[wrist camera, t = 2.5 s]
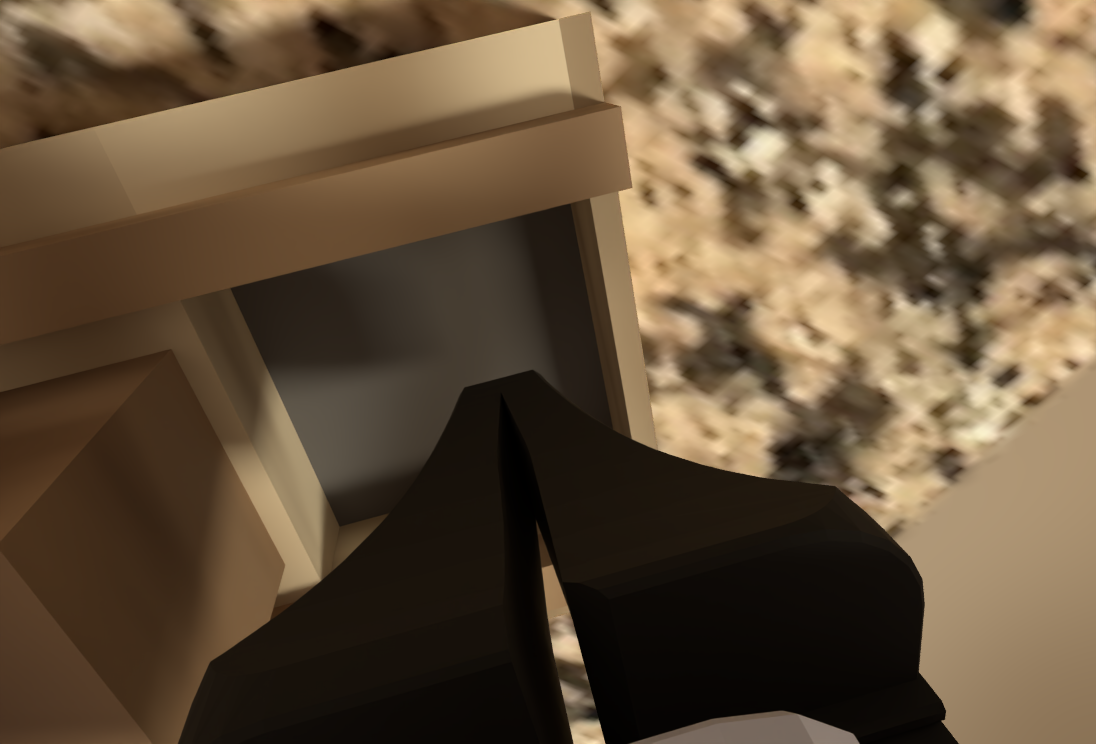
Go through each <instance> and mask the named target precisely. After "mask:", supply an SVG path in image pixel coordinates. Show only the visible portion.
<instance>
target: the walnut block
mask: <svg viewBox="0 0 1096 744" xmlns="http://www.w3.org/2000/svg"><path fill="white" fill-rule="evenodd" d="M284 568H285V563H284V561H283V559H282V558H281V556H280V554H279V552H278V550H277V548H276V546H275V544H274V542H273V541H272V539H271V537H270V535H269V533H268V531H267V529H266V527H265V525H264V524H263V522H262V520H261V518H260V516H259V514H258V512H257V510H256V508H255V506H254V505H253V503H252V501H251V499H250V497H249V495H248V493H247V491H246V489H245V488H244V486H243V484H242V482H241V480H240V478H239V476H238V474H237V472H236V471H235V469H234V467H233V465H232V463H231V461H230V459H229V457H228V455H227V453H226V452H225V450H224V448H223V446H222V444H221V442H220V440H219V438H218V436H217V435H216V433H215V431H214V429H213V427H212V425H211V423H210V421H209V419H208V418H207V416H206V414H205V412H204V410H203V408H202V406H201V404H200V402H199V400H198V399H197V397H196V395H195V393H194V391H193V389H192V387H191V385H190V383H189V382H188V380H187V378H186V376H185V374H184V372H183V370H182V368H181V366H180V365H179V363H178V361H177V359H176V357H175V355H174V353H173V351H172V349H169V350H165V351H161V352H157V353H153V354H149V355H145V356H141V357H137V358H133V359H130V360H126V361H122V362H118V363H114V364H110V365H106V366H102V367H98V368H94V369H90V370H86V371H82V372H78V373H74V374H70V375H66V376H62V377H58V378H54V379H50V380H46V381H42V382H38V383H35V384H31V385H27V386H23V387H19V388H15V389H11V390H7V391H3V392H0V744H178V742H179V739H180V736H181V733H182V730H183V727H184V724H185V722H186V719H187V716H188V713H189V710H190V707H191V704H192V702H193V700H194V697H195V695H196V693H197V690H198V688H199V686H200V683H201V681H202V679H203V676H204V674H205V672H206V670H207V667H208V665H209V663H210V661H212V660H213V659H215V658H217V657H218V656H220V655H221V654H223V653H224V652H226V651H227V650H229V649H230V648H232V647H233V646H234V645H236V644H237V643H239V642H240V641H242V640H243V639H244V638H246V637H247V636H249V635H250V634H252V633H253V632H254V631H256V630H257V629H259V628H260V627H262V626H263V625H264V624H266V623H267V622H269V621H270V618H271V614H272V611H273V607H274V604H275V600H276V597H277V593H278V590H279V586H280V583H281V579H282V575H283V572H284Z"/></svg>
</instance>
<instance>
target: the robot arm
mask: <svg viewBox="0 0 1096 744" xmlns="http://www.w3.org/2000/svg"><path fill="white" fill-rule="evenodd" d="M536 521H537V524H538V527H539V529H540V532H541V535H542V538H543V540H544V543H545V546H546V549H547V551H548V554H549V557H550V559H551V562H552V565H553V568H554V570H555V573H556V576H557V578H558V581H559V584H560V587H561V589H562V592H563V595H564V597H565V600H566V603H567V606H568V608H569V611H570V614H571V617H572V619H573V623H574V627H575V631H576V634H577V638H578V642H579V646H580V649H581V653H582V657H583V661H584V664H585V668H586V672H587V676H588V680H589V683H590V687H591V691H592V695H593V698H594V702H595V706H596V710H597V713H598V717H599V721H600V725H601V728H602V732H603V736H604V740H605V744H958V742H957V741H956V740H955V738H954V737H953V736H952V734H951V733H950V732H949V731H948V729H947V728H946V727H945V725H944V724H943V723H942V722H941V721H942V720H945V714H946V710H945V708H944V705H943V703H942V700H941V699H940V698H939V697H938V696H937V694H936V693H935V692H934V690H933V689H932V688H931V687H930V685H929V684H928V683H927V682H926V680H925V679H924V678H923V677H922V676H921V674H920V673H919V662H920V650H921V640H922V628H923V617H924V606H925V602H924V592H923V581H922V577H921V576H920V574H919V572H918V570H917V568H916V566H915V564H914V563H913V561H912V559H911V557H910V556H909V555H908V554H907V553H906V552H905V551H904V550H903V549H902V548H901V547H900V546H899V545H898V544H897V543H896V542H895V541H894V540H893V539H892V537H891V536H890V535H889V534H888V533H887V532H886V531H885V530H884V529H883V528H882V527H881V526H880V525H879V524H878V523H877V522H876V521H875V520H874V519H872V518H871V517H870V516H869V515H868V514H867V513H866V512H865V511H864V510H863V509H861V508H860V507H859V506H858V505H857V504H855V503H854V502H853V501H852V500H851V499H849V498H848V497H847V496H846V495H845V494H843V493H842V492H841V491H840V490H839V489H838V488H837V487H835V486H829V485H820V484H811V483H802V482H793V481H784V480H775V479H767V478H761V477H755V476H750V475H745V474H740V473H735V472H730V471H725V470H721V469H717V468H713V467H709V466H705V465H701V464H698V463H695V462H691V461H688V460H685V459H682V458H679V457H676V456H672V455H669V454H667V453H664V452H661V451H658V450H656V449H653V448H651V447H648V446H646V445H644V444H642V443H639V442H637V441H635V440H633V439H630V438H628V437H626V436H624V435H622V434H620V433H618V432H616V431H615V430H613V429H611V428H610V427H608V426H606V425H605V424H603V423H601V422H600V421H598V420H597V419H595V418H594V417H592V416H591V415H589V414H588V413H586V412H585V411H583V410H582V409H581V408H579V407H578V406H577V405H575V404H574V403H572V402H571V401H570V400H568V399H567V398H566V397H565V396H563V395H562V394H561V393H560V392H559V391H558V390H556V389H555V388H554V387H553V386H552V385H551V384H550V383H549V382H547V381H546V380H545V378H544V377H543V376H542V375H541V374H540V373H538V372H536V371H535V370H529V371H525V372H521V373H517V374H514V375H510V376H506V377H502V378H498V379H495V380H491V381H487V382H483V383H479V384H476V385H472V386H468V387H464V389H463V391H462V392H461V394H460V396H459V398H458V400H457V403H456V405H455V408H454V410H453V412H452V414H451V416H450V419H449V421H448V423H447V425H446V427H445V429H444V431H443V433H442V435H441V436H440V438H439V440H438V442H437V444H436V446H435V448H434V450H433V452H432V453H431V455H430V457H429V458H428V460H427V461H426V463H425V465H424V466H423V468H422V469H421V471H420V473H419V474H418V476H417V477H416V479H415V481H414V482H413V484H412V485H411V487H410V488H409V489H408V491H407V492H406V493H405V495H404V496H403V497H402V498H401V500H400V501H399V502H398V503H397V505H396V506H395V507H394V508H393V509H392V511H391V512H390V513H389V514H388V516H387V517H386V518H385V519H384V520H383V521H382V522H381V524H380V525H379V526H378V527H377V528H376V529H375V530H374V531H373V532H372V533H371V534H370V535H369V536H368V537H367V538H366V539H365V540H364V541H363V542H362V543H361V544H360V545H359V546H358V547H357V548H356V549H355V550H354V551H353V552H352V553H351V554H350V555H349V556H348V557H347V558H346V559H345V560H344V561H343V562H342V563H341V564H340V565H338V566H337V567H336V568H335V569H334V570H333V571H332V572H330V573H329V574H328V575H327V576H326V577H325V578H324V579H323V580H321V581H320V582H319V583H318V584H317V585H315V586H314V587H313V588H312V589H310V590H309V591H308V592H307V593H306V594H304V595H303V596H302V597H301V598H299V599H298V600H297V601H296V602H294V603H293V604H292V605H290V606H289V607H288V608H287V609H285V610H284V611H283V612H281V613H280V614H279V615H277V616H276V617H274V618H273V619H272V620H270V621H269V622H267V623H266V624H264V625H263V626H262V627H260V628H259V629H257V630H256V631H254V632H253V633H252V634H250V635H249V636H247V637H246V638H244V639H243V640H242V641H240V642H239V643H237V644H236V645H234V646H233V647H232V648H230V649H229V650H227V651H226V652H224V653H223V654H221V655H220V656H218V657H217V658H215V659H213V660H212V661H210V663H209V665H208V667H207V670H206V672H205V674H204V676H203V679H202V681H201V683H200V686H199V688H198V690H197V693H196V695H195V697H194V700H193V702H192V704H191V707H190V710H189V713H188V716H187V719H186V722H185V724H184V727H183V730H182V733H181V736H180V739H179V742H178V744H573V739H572V735H571V730H570V726H569V722H568V717H567V713H566V708H565V704H564V699H563V695H562V690H561V686H560V681H559V677H558V672H557V668H556V663H555V659H554V654H553V649H552V643H551V637H550V631H549V623H548V615H547V607H546V598H545V590H544V581H543V573H542V565H541V556H540V548H539V540H538V532H537V524H536Z"/></svg>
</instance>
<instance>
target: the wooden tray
mask: <svg viewBox="0 0 1096 744" xmlns="http://www.w3.org/2000/svg"><path fill="white" fill-rule="evenodd" d="M630 188H632V181H631V174H630V168H629V161H628V154H627V147H626V140H625V133H624V126H623V119H622V112H621V106H617V105H613V104H609V103H605V102H604V97H603V90H602V84H601V77H600V71H599V64H598V58H597V51H596V45H595V38H594V32H593V25H592V19H591V12H587V13H583V14H578V15H574V16H570V17H565V18H561V19H557V20H552V21H548V22H544V23H540V24H535V25H531V26H527V27H522V28H518V29H514V30H509V31H505V32H501V33H496V34H492V35H488V36H484V37H479V38H475V39H471V40H466V41H462V42H458V43H453V44H449V45H445V46H441V47H436V48H432V49H428V50H423V51H419V52H415V53H410V54H406V55H402V56H397V57H393V58H389V59H385V60H380V61H376V62H372V63H367V64H363V65H359V66H354V67H350V68H346V69H341V70H337V71H333V72H329V73H324V74H320V75H316V76H311V77H307V78H303V79H298V80H294V81H290V82H286V83H281V84H277V85H273V86H268V87H264V88H260V89H255V90H251V91H247V92H242V93H238V94H234V95H230V96H225V97H221V98H217V99H212V100H208V101H204V102H199V103H195V104H191V105H186V106H182V107H178V108H174V109H169V110H165V111H161V112H156V113H152V114H148V115H143V116H139V117H135V118H131V119H126V120H122V121H118V122H113V123H109V124H105V125H100V126H96V127H92V128H87V129H83V130H79V131H75V132H70V133H66V134H62V135H57V136H53V137H49V138H44V139H40V140H36V141H31V142H27V143H23V144H19V145H14V146H10V147H6V148H1V149H0V392H3V391H7V390H11V389H15V388H19V387H23V386H27V385H31V384H35V383H38V382H42V381H46V380H50V379H54V378H58V377H62V376H66V375H70V374H74V373H78V372H82V371H86V370H90V369H94V368H98V367H102V366H106V365H110V364H114V363H118V362H122V361H126V360H130V359H133V358H137V357H141V356H145V355H149V354H153V353H157V352H161V351H165V350H169V349H172V351H173V353H174V355H175V357H176V359H177V361H178V363H179V365H180V366H181V368H182V370H183V372H184V374H185V376H186V378H187V380H188V382H189V383H190V385H191V387H192V389H193V391H194V393H195V395H196V397H197V399H198V400H199V402H200V404H201V406H202V408H203V410H204V412H205V414H206V416H207V418H208V419H209V421H210V423H211V425H212V427H213V429H214V431H215V433H216V435H217V436H218V438H219V440H220V442H221V444H222V446H223V448H224V450H225V452H226V453H227V455H228V457H229V459H230V461H231V463H232V465H233V467H234V469H235V471H236V472H237V474H238V476H239V478H240V480H241V482H242V484H243V486H244V488H245V489H246V491H247V493H248V495H249V497H250V499H251V501H252V503H253V505H254V506H255V508H256V510H257V512H258V514H259V516H260V518H261V520H262V522H263V524H264V525H265V527H266V529H267V531H268V533H269V535H270V537H271V539H272V541H273V542H274V544H275V546H276V548H277V550H278V552H279V554H280V556H281V558H282V559H283V561H284V563H285V568H284V572H283V575H282V579H281V583H280V586H279V590H278V593H277V597H276V600H275V604H274V607H273V611H272V614H271V618H270V620H272V619H273V618H274V617H276V616H277V615H279V614H280V613H281V612H283V611H284V610H285V609H287V608H288V607H289V606H290V605H292V604H293V603H294V602H296V601H297V600H298V599H299V598H301V597H302V596H303V595H304V594H306V593H307V592H308V591H309V590H310V589H312V588H313V587H314V586H315V585H317V584H318V583H319V582H320V581H321V580H323V579H324V578H325V577H326V576H327V575H328V574H329V573H330V572H332V571H333V570H334V569H335V568H336V567H337V566H338V565H340V564H341V563H342V562H343V561H344V560H345V559H346V558H347V557H348V556H349V555H350V554H351V553H352V552H353V551H354V550H355V549H356V548H357V547H358V546H359V545H360V544H361V543H362V542H363V541H364V540H365V539H366V538H367V537H368V536H369V535H370V534H371V533H372V532H373V531H374V530H375V529H376V528H377V527H378V526H379V525H380V524H381V522H382V521H383V520H384V519H385V518H386V517H387V516H388V514H389V513H390V512H391V511H392V509H393V508H394V507H395V506H396V505H397V503H398V502H399V501H400V500H401V498H402V497H403V496H404V495H405V493H406V492H407V491H408V489H409V488H410V487H411V485H412V484H413V482H414V481H415V479H416V477H417V476H418V474H419V473H420V471H421V469H422V468H423V466H424V465H425V463H426V461H427V460H428V458H429V457H430V455H431V453H432V452H433V450H434V448H435V446H436V444H437V442H438V440H439V438H440V436H441V435H442V433H443V431H444V429H445V427H446V425H447V423H448V421H449V419H450V416H451V414H452V412H453V410H454V408H455V405H456V403H457V400H458V398H459V396H460V394H461V392H462V391H463V389H464V387H468V386H472V385H476V384H479V383H483V382H487V381H491V380H495V379H498V378H502V377H506V376H510V375H514V374H517V373H521V372H525V371H529V370H535V371H536V372H538V373H540V374H541V375H542V376H543V377H544V378H545V380H546V381H547V382H549V383H550V384H551V385H552V386H553V387H554V388H555V389H556V390H558V391H559V392H560V393H561V394H562V395H563V396H565V397H566V398H567V399H568V400H570V401H571V402H572V403H574V404H575V405H577V406H578V407H579V408H581V409H582V410H583V411H585V412H586V413H588V414H589V415H591V416H592V417H594V418H595V419H597V420H598V421H600V422H601V423H603V424H605V425H606V426H608V427H610V428H611V429H613V430H615V431H616V432H618V433H620V434H622V435H624V436H626V437H628V438H630V439H633V440H635V441H637V442H639V443H642V444H644V445H646V446H648V447H651V448H653V449H656V450H658V448H657V441H656V435H655V428H654V422H653V415H652V409H651V402H650V396H649V389H648V383H647V376H646V370H645V363H644V357H643V350H642V344H641V337H640V331H639V324H638V318H637V311H636V305H635V298H634V292H633V285H632V279H631V272H630V266H629V259H628V253H627V246H626V240H625V233H624V227H623V220H622V214H621V207H620V201H619V194H618V191H621V190H626V189H630ZM536 524H537V521H536ZM537 532H538V540H539V548H540V556H541V565H542V573H543V581H544V590H545V598H546V607H547V615H548V619H550V618H553V617H557V616H560V615H564V614H567V613H570V611H569V608H568V606H567V603H566V600H565V597H564V595H563V592H562V589H561V587H560V584H559V581H558V578H557V576H556V573H555V570H554V568H553V565H552V562H551V559H550V557H549V554H548V551H547V549H546V546H545V543H544V540H543V538H542V535H541V532H540V529H539V527H538V524H537Z"/></svg>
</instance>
